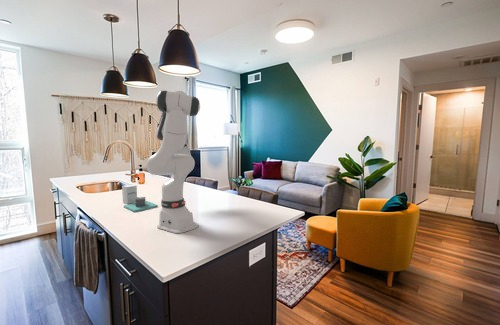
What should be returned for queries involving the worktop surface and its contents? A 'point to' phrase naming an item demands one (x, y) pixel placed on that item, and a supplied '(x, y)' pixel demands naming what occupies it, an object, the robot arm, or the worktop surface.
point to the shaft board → (135, 209)
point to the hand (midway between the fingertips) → (176, 163)
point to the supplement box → (129, 194)
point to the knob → (140, 201)
